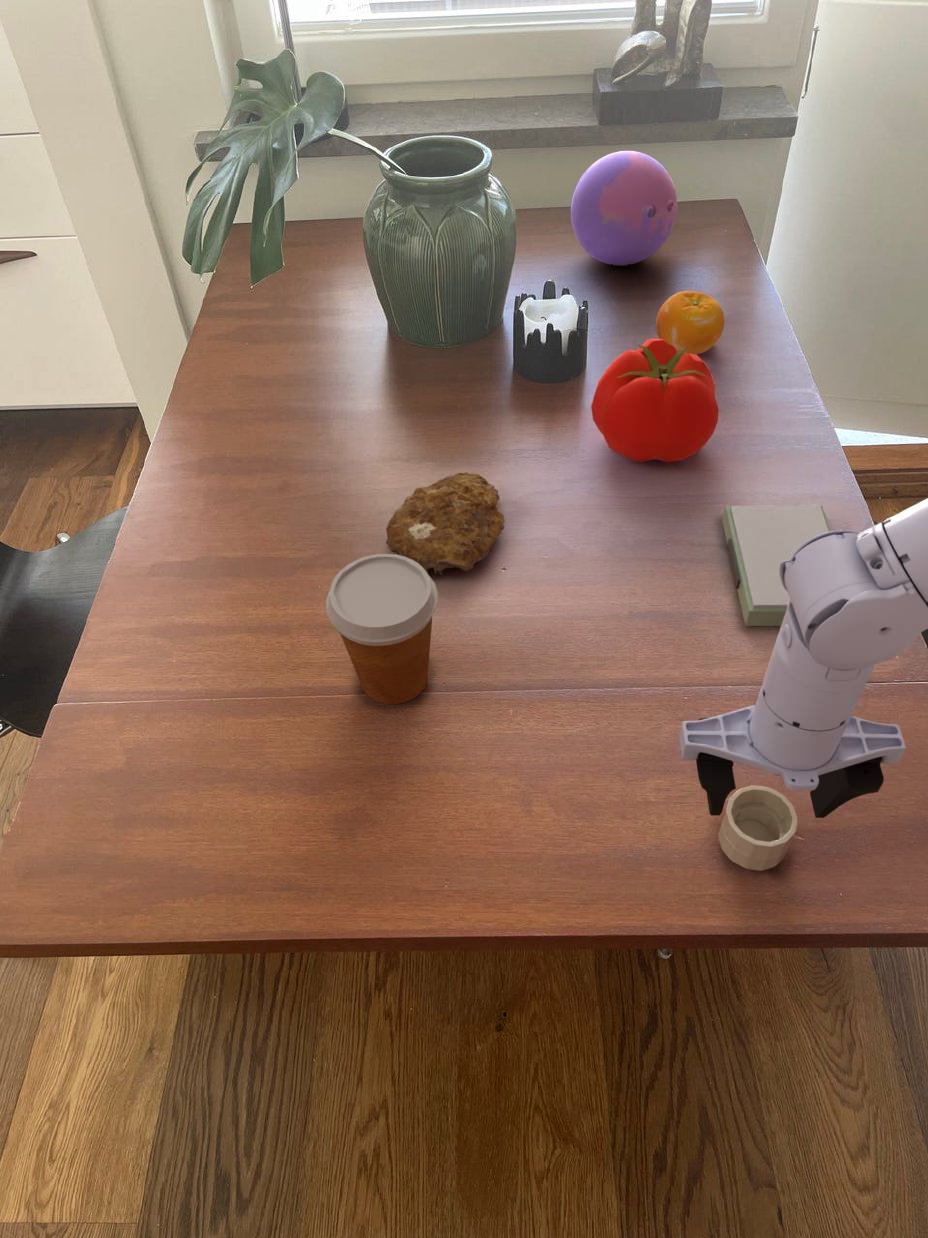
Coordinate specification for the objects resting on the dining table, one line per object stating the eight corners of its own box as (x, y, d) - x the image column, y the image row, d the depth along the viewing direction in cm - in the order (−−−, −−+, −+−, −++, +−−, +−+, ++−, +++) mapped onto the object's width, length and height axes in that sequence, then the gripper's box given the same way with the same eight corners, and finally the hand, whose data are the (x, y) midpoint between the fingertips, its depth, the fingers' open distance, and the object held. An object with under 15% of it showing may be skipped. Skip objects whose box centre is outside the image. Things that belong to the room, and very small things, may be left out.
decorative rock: (429, 482, 106) (374, 573, 97) (424, 454, 102) (367, 545, 94) (523, 498, 102) (475, 594, 93) (521, 469, 99) (471, 566, 90)
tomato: (715, 483, 103) (733, 394, 94) (587, 479, 104) (593, 390, 95) (708, 413, 111) (724, 325, 103) (589, 409, 113) (595, 322, 104)
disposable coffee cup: (325, 700, 85) (302, 612, 76) (373, 627, 90) (357, 538, 82) (417, 732, 82) (405, 645, 73) (461, 656, 88) (455, 566, 79)
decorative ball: (621, 295, 131) (630, 188, 120) (548, 259, 139) (550, 155, 128) (691, 259, 137) (706, 154, 126) (617, 226, 145) (625, 124, 134)
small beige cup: (790, 826, 74) (802, 797, 71) (778, 883, 71) (790, 856, 68) (725, 805, 76) (734, 776, 72) (710, 860, 72) (720, 833, 69)
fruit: (689, 352, 114) (700, 284, 112) (638, 350, 120) (648, 285, 119) (731, 360, 119) (742, 295, 117) (679, 357, 126) (689, 296, 124)
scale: (851, 626, 88) (858, 607, 86) (742, 626, 89) (747, 608, 87) (817, 520, 98) (823, 502, 96) (719, 521, 99) (723, 502, 97)
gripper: (700, 745, 57) (672, 851, 67) (943, 749, 56) (877, 856, 66) (687, 656, 61) (663, 768, 71) (911, 659, 60) (854, 772, 71)
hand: (764, 805), depth 69 cm, fingers open, 7 cm apart
